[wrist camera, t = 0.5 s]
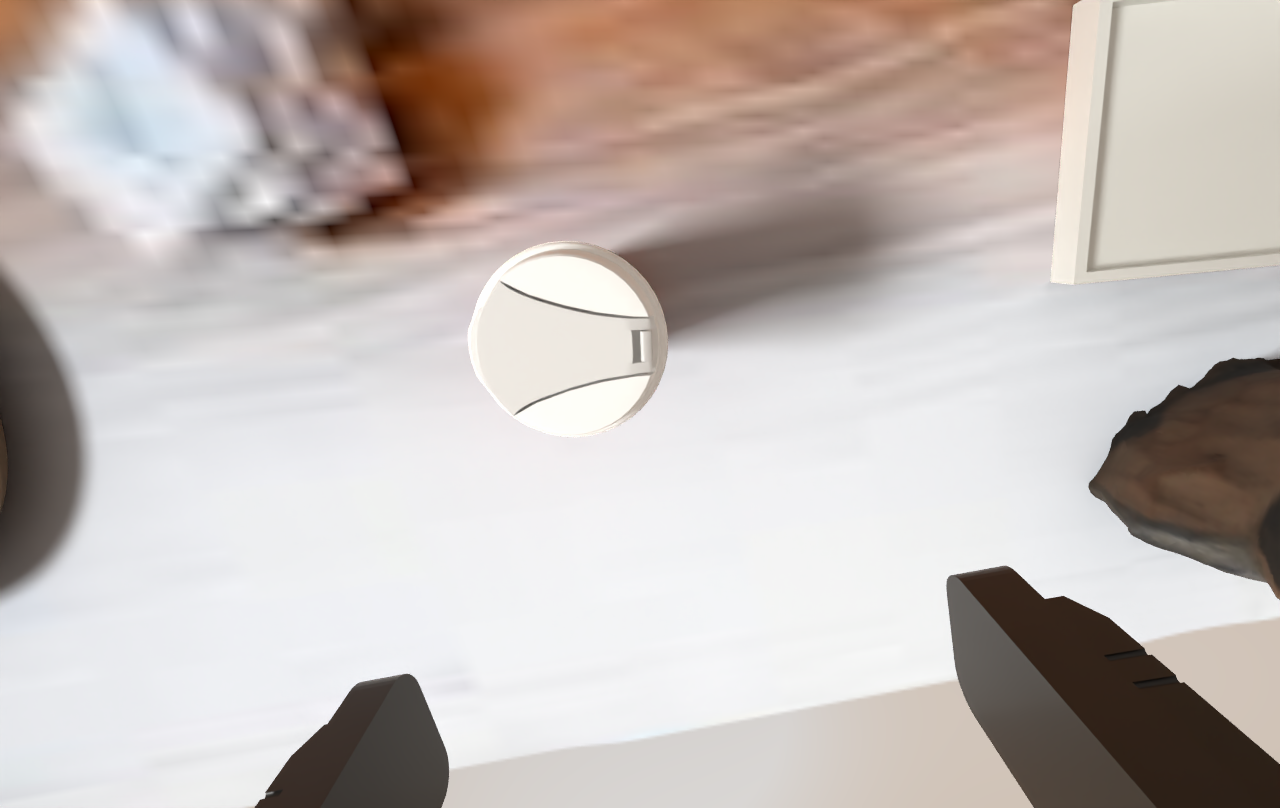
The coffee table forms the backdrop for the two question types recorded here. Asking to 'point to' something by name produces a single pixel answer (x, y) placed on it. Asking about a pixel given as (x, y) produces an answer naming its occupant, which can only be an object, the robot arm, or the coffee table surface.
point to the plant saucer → (3, 466)
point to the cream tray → (1169, 140)
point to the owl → (1205, 471)
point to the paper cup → (569, 339)
